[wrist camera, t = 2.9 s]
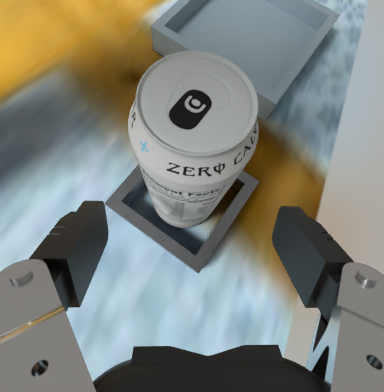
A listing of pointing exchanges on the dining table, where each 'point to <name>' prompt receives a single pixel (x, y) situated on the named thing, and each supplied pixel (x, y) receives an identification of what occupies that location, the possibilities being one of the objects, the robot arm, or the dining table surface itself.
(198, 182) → the energy drink can
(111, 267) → the dining table surface
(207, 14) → the tray
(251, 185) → the can socket
